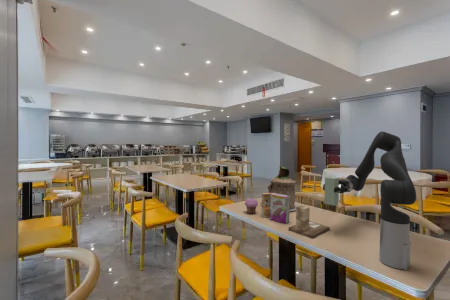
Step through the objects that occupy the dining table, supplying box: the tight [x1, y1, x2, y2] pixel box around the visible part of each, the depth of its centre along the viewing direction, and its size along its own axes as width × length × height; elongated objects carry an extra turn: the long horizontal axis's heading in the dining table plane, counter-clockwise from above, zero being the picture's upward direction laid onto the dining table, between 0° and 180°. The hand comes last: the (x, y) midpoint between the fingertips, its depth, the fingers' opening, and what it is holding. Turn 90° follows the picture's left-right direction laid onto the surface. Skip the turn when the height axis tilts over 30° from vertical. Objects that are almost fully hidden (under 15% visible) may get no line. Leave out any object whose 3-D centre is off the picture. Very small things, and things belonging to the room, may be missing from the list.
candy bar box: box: [269, 193, 290, 225], centre depth 134 cm, size 11×5×16 cm, turn 47°
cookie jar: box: [260, 165, 299, 212], centre depth 164 cm, size 25×25×32 cm
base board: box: [288, 204, 331, 240], centre depth 120 cm, size 14×19×14 cm
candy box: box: [261, 192, 273, 218], centre depth 143 cm, size 9×4×15 cm, turn 98°
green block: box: [324, 176, 340, 207], centre depth 115 cm, size 5×5×14 cm
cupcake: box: [244, 198, 259, 215], centre depth 149 cm, size 9×9×10 cm
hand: (329, 189), depth 114 cm, fingers closed on green block, 5 cm apart
